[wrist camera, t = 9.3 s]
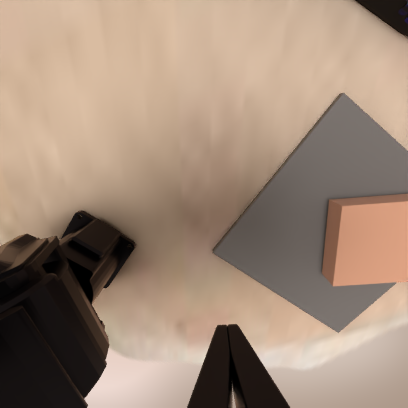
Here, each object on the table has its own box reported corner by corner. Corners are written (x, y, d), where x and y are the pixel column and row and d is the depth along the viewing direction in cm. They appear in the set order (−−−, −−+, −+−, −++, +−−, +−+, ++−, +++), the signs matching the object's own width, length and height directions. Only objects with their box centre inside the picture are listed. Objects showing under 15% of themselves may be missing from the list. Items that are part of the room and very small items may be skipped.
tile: (332, 286, 20) (430, 280, 20) (342, 206, 18) (453, 197, 18) (320, 272, 23) (408, 266, 22) (327, 198, 20) (426, 191, 20)
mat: (335, 329, 25) (338, 332, 25) (212, 250, 22) (212, 252, 22) (470, 212, 21) (476, 213, 21) (340, 94, 18) (343, 92, 17)
